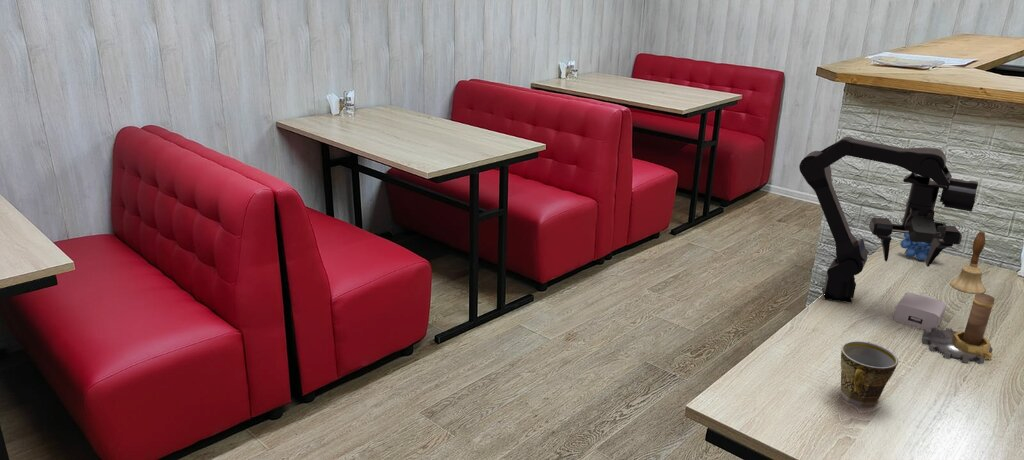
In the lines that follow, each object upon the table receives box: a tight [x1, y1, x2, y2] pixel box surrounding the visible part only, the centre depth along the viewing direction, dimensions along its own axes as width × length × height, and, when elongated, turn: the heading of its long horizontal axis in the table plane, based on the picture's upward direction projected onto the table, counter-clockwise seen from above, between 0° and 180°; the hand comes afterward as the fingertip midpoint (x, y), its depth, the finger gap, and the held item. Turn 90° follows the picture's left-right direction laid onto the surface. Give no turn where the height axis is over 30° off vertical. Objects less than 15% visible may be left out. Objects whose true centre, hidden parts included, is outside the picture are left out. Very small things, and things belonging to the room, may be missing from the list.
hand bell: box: [949, 230, 986, 295], centre depth 188 cm, size 8×8×16 cm
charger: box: [893, 292, 947, 332], centre depth 175 cm, size 5×9×15 cm
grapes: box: [899, 233, 941, 261], centre depth 206 cm, size 12×7×12 cm, turn 52°
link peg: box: [962, 293, 996, 346], centre depth 157 cm, size 4×4×12 cm
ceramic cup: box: [840, 340, 899, 408], centre depth 139 cm, size 13×10×10 cm
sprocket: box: [921, 327, 994, 364], centre depth 160 cm, size 14×14×3 cm
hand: (906, 263), depth 172 cm, fingers open, 9 cm apart
